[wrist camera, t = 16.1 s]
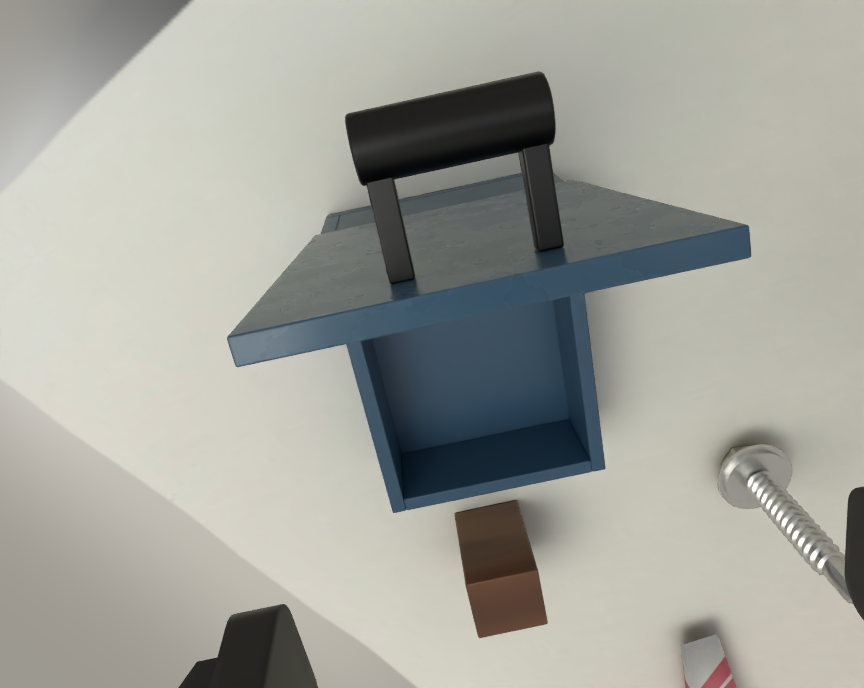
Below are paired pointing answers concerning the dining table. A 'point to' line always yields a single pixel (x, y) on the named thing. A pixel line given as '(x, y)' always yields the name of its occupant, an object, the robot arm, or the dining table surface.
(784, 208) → the dining table surface
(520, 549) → the brown block
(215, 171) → the dining table surface
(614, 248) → the toolbox lid
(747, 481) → the screw
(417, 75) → the dining table surface
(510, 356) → the toolbox
